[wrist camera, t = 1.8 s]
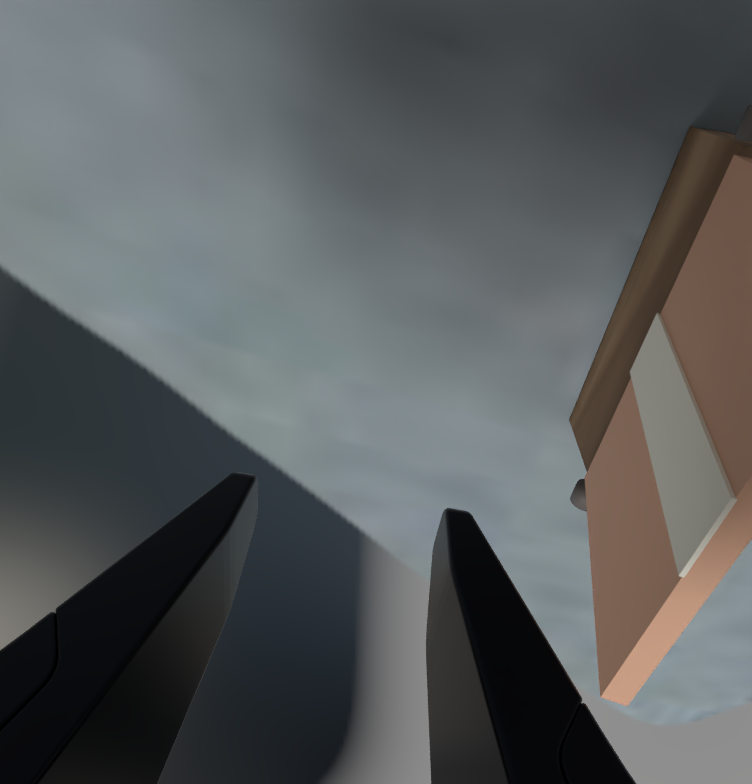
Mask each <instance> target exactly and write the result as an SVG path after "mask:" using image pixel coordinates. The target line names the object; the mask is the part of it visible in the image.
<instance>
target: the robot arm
mask: <svg viewBox="0 0 752 784" xmlns="http://www.w3.org/2000/svg"><path fill="white" fill-rule="evenodd" d="M257 503H258V479H257V477H256V476H255V475H252V474H246V473H240V472H233V473H230V474H229V475H228V476H226V477H225V478H224V479H222V480H221V481H220V482H219V483H217V484H216V485H215V486H214V487H212V488H211V489H210V490H208V491H207V492H206V493H204V494H203V495H202V496H200V497H199V498H198V499H197V500H195V501H194V502H193V503H191V504H190V505H189V506H188V507H186V508H185V509H184V510H182V511H181V512H180V513H179V514H177V515H176V516H175V517H173V518H172V519H171V520H169V521H168V522H167V523H166V524H164V525H163V526H162V527H160V528H159V529H158V530H157V531H155V532H154V533H153V534H151V535H150V536H149V537H147V538H146V539H145V540H144V541H142V542H141V543H140V544H139V545H137V546H136V547H135V548H133V549H132V550H131V551H129V552H128V553H127V554H126V555H124V556H123V557H122V558H120V559H119V560H118V561H116V562H115V563H114V564H113V565H111V566H110V567H109V568H107V569H106V570H105V571H104V572H102V573H101V574H100V575H98V576H97V577H96V578H95V579H94V580H92V581H91V582H89V583H88V584H87V585H86V586H84V587H83V588H82V589H80V590H79V591H78V592H77V593H75V594H74V595H73V596H71V597H70V598H69V599H68V600H66V601H65V602H64V603H63V604H61V605H60V606H58V607H57V608H56V614H55V613H54V612H51V613H49V614H48V615H46V616H45V617H44V618H43V619H41V620H40V621H39V622H37V623H36V624H35V625H34V626H32V627H31V628H30V629H28V630H27V631H26V632H24V633H23V634H22V635H20V636H19V637H18V638H16V639H15V640H14V641H12V642H11V643H10V644H8V645H7V646H6V647H4V648H3V649H1V650H0V784H157V783H158V781H159V778H160V776H161V774H162V771H163V768H164V766H165V764H166V762H167V759H168V757H169V754H170V752H171V749H172V747H173V745H174V743H175V740H176V738H177V735H178V733H179V730H180V728H181V726H182V723H183V721H184V719H185V716H186V714H187V712H188V709H189V707H190V704H191V702H192V700H193V697H194V695H195V693H196V690H197V688H198V686H199V683H200V681H201V678H202V676H203V674H204V671H205V669H206V666H207V664H208V662H209V659H210V657H211V655H212V652H213V650H214V647H215V645H216V643H217V640H218V638H219V636H220V633H221V631H222V628H223V626H224V624H225V621H226V619H227V616H228V613H229V611H230V608H231V605H232V602H233V598H234V595H235V592H236V589H237V585H238V581H239V578H240V575H241V571H242V568H243V564H244V561H245V557H246V554H247V550H248V547H249V543H250V539H251V536H252V533H253V529H254V526H255V521H256V517H257ZM426 664H427V689H428V713H429V737H430V760H431V761H430V762H431V784H636V783H635V781H634V780H633V778H632V777H631V775H630V774H629V773H628V771H627V770H626V768H625V767H624V765H623V763H622V762H621V760H620V759H619V757H618V755H617V754H616V752H615V751H614V749H613V748H612V746H611V745H610V743H609V741H608V740H607V738H606V737H605V735H604V733H603V732H602V730H601V729H600V727H599V725H598V724H597V722H596V720H595V719H594V717H593V715H592V714H591V712H590V710H589V709H588V707H587V705H586V704H584V703H581V702H582V697H581V696H580V694H579V693H578V691H577V689H576V687H575V686H574V684H573V682H572V681H571V679H570V677H569V676H568V674H567V672H566V671H565V669H564V667H563V666H562V664H561V662H560V661H559V659H558V658H557V656H556V654H555V653H554V651H553V649H552V648H551V646H550V644H549V643H548V641H547V639H546V638H545V636H544V634H543V633H542V631H541V629H540V628H539V626H538V624H537V623H536V621H535V619H534V618H533V616H532V614H531V613H530V611H529V609H528V608H527V606H526V604H525V603H524V601H523V599H522V598H521V596H520V594H519V593H518V591H517V589H516V588H515V586H514V584H513V583H512V581H511V579H510V578H509V576H508V574H507V573H506V571H505V570H504V568H503V566H502V565H501V563H500V561H499V560H498V558H497V556H496V555H495V553H494V551H493V550H492V548H491V546H490V545H489V543H488V541H487V540H486V538H485V536H484V535H483V533H482V531H481V530H480V528H479V526H478V525H477V523H476V521H475V520H474V518H473V516H472V515H471V514H470V513H469V512H467V511H463V510H457V509H451V508H447V509H445V510H444V512H443V514H442V517H441V521H440V524H439V528H438V531H437V535H436V538H435V542H434V547H433V554H432V566H431V579H430V593H429V605H428V618H427V632H426Z"/></svg>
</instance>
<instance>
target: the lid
mask: <svg viewBox="0 0 752 784" xmlns="http://www.w3.org/2000/svg"><path fill="white" fill-rule="evenodd" d="M630 375H631V379H630V381H629V383H628V385H627V387H626V390H625V392H624V394H623V396H622V398H621V400H620V403H619V405H618V407H617V409H616V411H615V413H614V415H613V418H612V420H611V422H610V424H609V426H608V428H607V431H606V433H605V435H604V437H603V439H602V441H601V444H600V446H599V448H598V450H597V452H596V454H595V457H594V459H593V461H592V463H591V465H590V467H589V470H588V472H587V474H586V476H585V490H586V504H587V518H588V532H589V546H590V560H591V573H592V587H593V601H594V615H595V629H596V643H597V657H598V671H599V684H600V697H601V698H604V699H607V700H610V701H613V702H616V703H619V704H622V705H625V706H628V705H629V703H630V702H631V700H632V699H633V698H634V696H635V695H636V694H637V692H638V691H639V690H640V688H641V687H642V686H643V684H644V683H645V682H646V680H647V679H648V678H649V676H650V675H651V674H652V672H653V671H654V669H655V668H656V667H657V665H658V664H659V663H660V661H661V660H662V659H663V657H664V656H665V655H666V653H667V652H668V651H669V649H670V648H671V647H672V645H673V644H674V643H675V641H676V640H677V639H678V637H679V636H680V634H681V633H682V632H683V630H684V629H685V628H686V626H687V625H688V624H689V622H690V621H691V620H692V618H693V617H694V616H695V614H696V613H697V612H698V610H699V609H700V608H701V606H702V605H703V604H704V602H705V601H706V599H707V598H708V597H709V595H710V594H711V593H712V591H713V590H714V589H715V587H716V586H717V585H718V583H719V582H720V581H721V579H722V578H723V577H724V575H725V574H726V573H727V571H728V570H729V568H730V567H731V566H732V564H733V563H734V562H735V560H736V559H737V558H738V556H739V555H740V554H741V552H742V551H743V550H744V548H745V547H746V546H747V544H748V543H749V542H750V540H751V539H752V158H749V157H744V156H738V155H734V156H733V158H732V160H731V162H730V165H729V167H728V169H727V171H726V173H725V175H724V178H723V180H722V182H721V184H720V186H719V188H718V191H717V193H716V195H715V197H714V199H713V201H712V204H711V206H710V208H709V210H708V212H707V214H706V217H705V219H704V221H703V223H702V225H701V227H700V229H699V232H698V234H697V236H696V238H695V240H694V242H693V245H692V247H691V249H690V251H689V253H688V255H687V258H686V260H685V262H684V264H683V266H682V268H681V271H680V273H679V275H678V277H677V279H676V281H675V284H674V286H673V288H672V290H671V292H670V294H669V297H668V299H667V301H666V303H665V305H664V307H663V310H662V312H661V314H660V313H656V316H655V318H654V320H653V322H652V324H651V327H650V329H649V331H648V333H647V335H646V338H645V340H644V342H643V344H642V346H641V348H640V351H639V353H638V355H637V357H636V359H635V362H634V364H633V366H632V368H631V370H630Z"/></svg>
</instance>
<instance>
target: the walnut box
mask: <svg viewBox="0 0 752 784" xmlns="http://www.w3.org/2000/svg"><path fill="white" fill-rule="evenodd" d="M734 155H738V156H744V157H749V158H752V106H748V108H747V110H746V112H745V115H744V117H743V119H742V121H741V123H740V126H739V128H738V130H737V132H736V134H731V133H725V132H720V131H714V130H708V129H702V128H696V127H689V130H688V132H687V135H686V137H685V140H684V142H683V144H682V147H681V149H680V152H679V154H678V157H677V159H676V161H675V164H674V166H673V169H672V171H671V174H670V176H669V178H668V181H667V183H666V186H665V188H664V191H663V193H662V196H661V198H660V200H659V203H658V205H657V208H656V210H655V213H654V215H653V217H652V220H651V222H650V225H649V227H648V230H647V232H646V234H645V237H644V239H643V242H642V244H641V247H640V249H639V252H638V254H637V256H636V259H635V261H634V264H633V266H632V269H631V271H630V273H629V276H628V278H627V281H626V283H625V286H624V288H623V290H622V293H621V295H620V298H619V300H618V303H617V305H616V308H615V310H614V312H613V315H612V317H611V320H610V322H609V325H608V327H607V329H606V332H605V334H604V337H603V339H602V342H601V344H600V346H599V349H598V351H597V354H596V356H595V359H594V361H593V364H592V366H591V368H590V371H589V373H588V376H587V378H586V381H585V383H584V385H583V388H582V390H581V393H580V395H579V398H578V400H577V402H576V405H575V407H574V410H573V412H572V415H571V417H570V423H571V426H572V429H573V432H574V435H575V438H576V441H577V444H578V447H579V450H580V453H581V456H582V459H583V462H584V465H585V468H586V470H587V472H588V470H589V467H590V465H591V463H592V461H593V459H594V457H595V454H596V452H597V450H598V448H599V446H600V444H601V441H602V439H603V437H604V435H605V433H606V431H607V428H608V426H609V424H610V422H611V420H612V418H613V415H614V413H615V411H616V409H617V407H618V405H619V403H620V400H621V398H622V396H623V394H624V392H625V390H626V387H627V385H628V383H629V381H630V379H631V375H630V370H631V368H632V366H633V364H634V362H635V359H636V357H637V355H638V353H639V351H640V348H641V346H642V344H643V342H644V340H645V338H646V335H647V333H648V331H649V329H650V327H651V324H652V322H653V320H654V318H655V316H656V313H660V314H661V312H662V310H663V307H664V305H665V303H666V301H667V299H668V297H669V294H670V292H671V290H672V288H673V286H674V284H675V281H676V279H677V277H678V275H679V273H680V271H681V268H682V266H683V264H684V262H685V260H686V258H687V255H688V253H689V251H690V249H691V247H692V245H693V242H694V240H695V238H696V236H697V234H698V232H699V229H700V227H701V225H702V223H703V221H704V219H705V217H706V214H707V212H708V210H709V208H710V206H711V204H712V201H713V199H714V197H715V195H716V193H717V191H718V188H719V186H720V184H721V182H722V180H723V178H724V175H725V173H726V171H727V169H728V167H729V165H730V162H731V160H732V158H733V156H734ZM570 500H571V502H572V504H573V505H574V506H575V507H577V508H578V509H580V510H583V511H587V504H586V490H585V479H580V480H579V481H578V482H577V484H576V486H575V488H574V490H573V493H572V495H571V497H570Z"/></svg>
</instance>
